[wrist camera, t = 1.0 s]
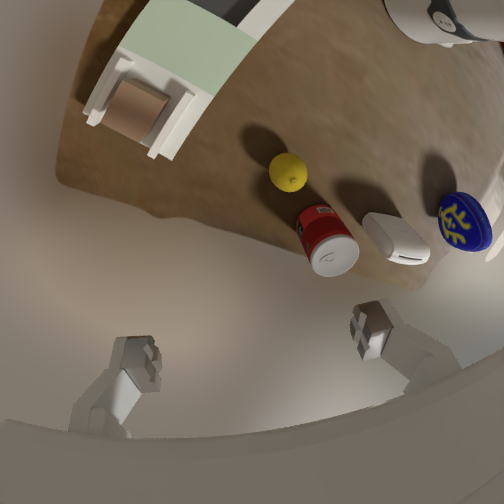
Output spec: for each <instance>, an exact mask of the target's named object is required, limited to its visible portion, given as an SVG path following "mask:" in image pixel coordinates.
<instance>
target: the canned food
mask: <svg viewBox="0 0 504 504" xmlns="http://www.w3.org/2000/svg"><path fill="white" fill-rule="evenodd" d="M296 231H297V234H298V236H299V238H300V241H301V243H302V245H303V248H304V250H305V253H306V255H307V257H308V260H309V262H310V264H311V266H312V268H313V270H314V271H315V272H316V273H317V274H319V275H321V276H325V277H332V276H337V275H340V274H342V273H344V272H346V271H348V270H349V269H350V268H351V267H352V266H353V265H354V264H355V262H356V261H357V259H358V256H359V247H358V245H357V242H356V241H355V239H354V238H353V236H352V235H351V233H350V232H349V230H348V229H347V227H346V226H345V225H344V223H343V222H342V220H341V219H340V217H339V216H338V215H337V213H336V212H335V211H334V210H333V209H332V208H330V207H329V206H326V205H322V204H316V205H312V206H310V207H308V208H306V209H304V210H303V211H302V212H301V214H300V215H299V216H298V218H297V222H296Z"/></svg>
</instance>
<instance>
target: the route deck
mask: <svg viewBox="0 0 504 504" xmlns="http://www.w3.org/2000/svg"><path fill="white" fill-rule="evenodd" d="M294 1H295V0H150V1H149V2H148V4H147V5H146V6H145V8H144V9H143V10H142V12H141V13H140V14H139V16H138V17H137V19H136V20H135V21H134V23H133V24H132V26H131V27H130V29H129V30H128V32H127V33H126V35H125V36H124V38H123V39H122V41H121V42H120V44H119V45H118V47H117V49H116V50H115V52H114V54H113V55H112V57H111V59H110V60H109V62H108V64H107V65H106V67H105V69H104V71H103V73H102V74H101V76H100V78H99V80H98V82H97V84H96V86H95V88H94V90H93V91H92V93H91V95H90V98H89V100H88V102H87V104H86V106H85V108H84V110H83V112H82V113H84V114H86V115H88V116H89V118H88V120H87V122H86V123H88V124H90V125H91V126H95V125H96V124H98V123H100V121H101V119H102V117H103V115H104V113H105V111H106V109H107V107H108V105H109V104H110V102H111V100H112V98H113V96H114V94H115V92H116V91H117V89H118V87H119V85H120V83H121V82H122V80H126V79H132V78H137V79H139V80H141V81H143V82H144V83H146V84H148V85H150V86H152V87H154V88H156V89H158V90H160V91H161V92H163V93H165V94H167V95H169V96H170V97H171V98H170V100H169V101H168V103H167V104H166V106H165V108H164V109H163V111H162V112H161V114H160V116H159V117H158V119H157V121H156V122H155V124H154V126H153V127H152V129H151V131H150V133H149V134H148V135H147V136H146V137H145V138H144V139H143V140H142V141H141V142H140V143H141V144H143V145H145V146H147V147H149V148H150V151H149V152H148V154H147V155H148V156H150V157H151V158H153V159H155V158H156V156H157V154H158V153H159V154H161V155H163V156H165V157H167V158H168V159H170V160H172V159H173V158H174V156H175V154H176V153H177V151H178V150H179V148H180V146H181V145H182V143H183V142H184V140H185V139H186V137H187V136H188V134H189V133H190V131H191V130H192V128H193V127H194V125H195V124H196V122H197V121H198V119H199V118H200V116H201V115H202V113H203V112H204V110H205V109H206V108H207V106H208V105H209V103H210V102H211V101H212V99H213V98H214V96H215V95H216V94H217V92H218V91H219V90H220V88H221V87H222V86H223V84H224V83H225V82H226V80H227V79H228V78H229V76H230V75H231V74H232V72H233V71H234V70H235V69H236V67H237V66H238V65H239V63H240V62H241V61H242V60H243V58H244V57H245V56H246V55H247V54H248V52H249V51H250V50H251V49H252V48H253V46H254V45H255V44H256V43H257V42H258V40H259V39H260V38H261V37H262V36H263V35H264V33H265V32H266V31H267V30H268V29H269V28H270V27H271V26H272V24H273V23H274V22H275V21H276V20H277V19H278V18H279V17H280V16H281V15H282V13H283V12H284V11H285V10H286V9H287V8H288V7H289V6H290V5H291V4H292V3H293V2H294Z"/></svg>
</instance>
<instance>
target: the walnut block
mask: <svg viewBox="0 0 504 504" xmlns="http://www.w3.org/2000/svg"><path fill="white" fill-rule="evenodd" d="M170 98H171V97H170V96H169V95H167V94H165V93H163V92H161V91H160V90H158V89H156V88H154V87H152V86H150V85H148V84H146V83H144V82H143V81H141V80H139V79H137V78H132V79H126V80H122V82H121V83H120V85H119V87H118V89H117V91H116V92H115V94H114V96H113V98H112V100H111V102H110V104H109V105H108V107H107V109H106V111H105V113H104V115H103V117H102V119H101V121H100V123H102V124H104V125H106V126H108V127H110V128H111V129H113V130H115V131H117V132H119V133H121V134H123V135H125V136H127V137H128V138H130V139H132V140H134V141H136V142H138V143H140V142H141V141H142V140H143V139H144V138H145V137H146V136H147V135H148V134H149V133H150V131H151V129H152V127H153V126H154V124H155V122H156V121H157V119H158V117H159V116H160V114H161V112H162V111H163V109H164V108H165V106H166V104H167V103H168V101H169V100H170Z"/></svg>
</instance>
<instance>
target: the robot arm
mask: <svg viewBox="0 0 504 504" xmlns="http://www.w3.org/2000/svg"><path fill="white" fill-rule="evenodd" d="M384 2H385V5H386V8H387V11H388V13H389V15H390V17H391V18H392V20H393V21H394V23H395V24H396V25H397V27H398V28H399V29H400V30H401V31H402V32H403V33H404V34H406V35H407V36H408V37H410V38H411V39H413V40H415V41H417V42H420V43H425V44H432V43H435V44H439V45H441V46H443V47H446V48H448V47H452V45H453V43H471V42H473V41H477V42H479V41H488V40H495V41H501V42H504V0H384ZM353 314H354V316H353V317H352V319H351V321H350V332H351V336H352V338H353V340H354V341H356V342H357V343H358V347H357V349H358V352H359V354H360V356H361V358H362V360H368V359H372V358H376V357H379V356H381V358H382V359H383V360H385V361H386V362H387V363H389V364H390V365H391V366H392V367H394V368H395V369H396V370H398V371H399V372H400V373H401V374H402V375H404V376H405V377H406V378H407V379H409V380H410V382H409V383H408V385H407V386H406V388H405V390H404V394H405V395H402V396H399V397H397V398H394V399H391V400H388V401H386V402H382V403H380V404H377V405H373V406H370V407H367V408H364V409H360V410H357V411H353V412H350V413H346V414H343V415H339V416H335V417H331V418H327V419H323V420H319V421H315V422H310V423H305V424H300V425H295V426H290V427H284V428H279V429H273V430H267V431H260V432H252V433H244V434H236V435H226V436H214V437H199V438H168V439H167V438H164V439H163V438H162V439H161V438H155V439H154V438H131V434H130V433H129V432H128V431H127V430H126V429H125V428H124V427H122V426H121V424H122V423H123V421H124V420H125V418H126V417H127V415H128V414H129V412H130V411H131V409H132V408H133V406H134V404H135V403H136V401H137V400H138V398H139V397H140V395H141V393H144V392H160V387H161V386H160V385H161V377H160V375H159V374H158V373H159V372H160V371H161V369H162V357H161V353H160V351H159V348H158V347H156V346H155V345H154V343H155V340H154V339H153V337H152V336H151V335H149V336H129V337H117V338H116V339H115V342H114V346H113V351H112V355H111V359H110V364H109V369H105V370H104V371H103V373H102V374H101V375H100V376H99V377H98V378H97V379H96V380H95V381H94V383H93V384H92V385H91V386H90V387H89V388H88V389H87V390H86V391H85V393H84V394H83V395H82V396H81V397H80V398H79V399H78V400H77V402H76V403H75V404H74V405H73V408H72V413H71V418H70V424H69V429H68V431H63V430H57V429H52V428H47V427H42V426H37V425H32V424H28V423H24V422H20V421H16V420H12V419H5V420H4V421H2V422H1V423H0V504H504V347H502V348H501V349H499V350H497V351H496V352H494V353H492V354H491V355H489V356H487V357H485V358H483V359H482V360H480V361H478V362H476V363H474V364H472V365H470V366H468V367H466V368H464V369H462V367H461V366H460V364H459V362H458V361H457V359H456V357H455V356H454V354H453V352H452V351H451V349H450V348H449V347H448V346H446V345H444V344H442V343H441V342H439V341H437V340H435V339H434V338H432V337H430V336H428V335H427V334H425V333H423V332H421V331H420V330H417V329H416V328H414V327H412V326H411V325H409V324H407V325H405V323H404V322H403V320H402V319H401V317H400V315H399V314H398V312H397V311H396V309H395V308H394V306H393V304H392V303H391V301H390V300H389V299H388V298H385V299H380V300H376V301H371V302H367V303H363V304H358V305H355V306H354V307H353Z"/></svg>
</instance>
